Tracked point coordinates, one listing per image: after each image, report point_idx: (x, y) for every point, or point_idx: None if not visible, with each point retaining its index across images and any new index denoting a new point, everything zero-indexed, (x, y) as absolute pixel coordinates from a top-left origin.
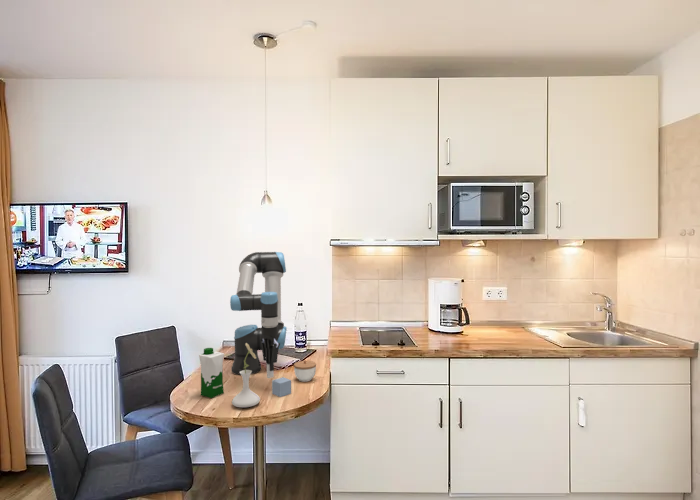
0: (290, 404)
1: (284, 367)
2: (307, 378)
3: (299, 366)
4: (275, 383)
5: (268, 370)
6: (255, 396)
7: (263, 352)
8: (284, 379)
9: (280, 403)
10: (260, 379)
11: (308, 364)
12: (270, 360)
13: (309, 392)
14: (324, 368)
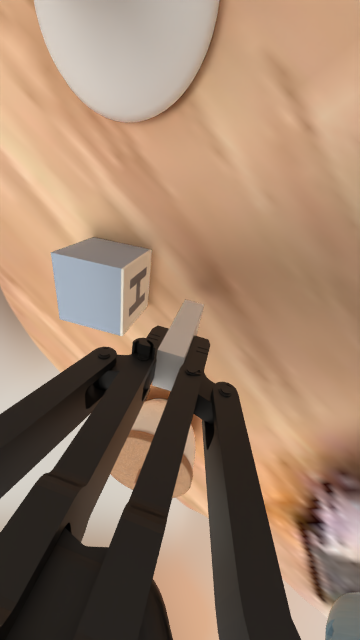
0: (3, 199)
1: (326, 490)
2: None
3: (132, 442)
4: (97, 259)
5: (172, 323)
6: (50, 32)
7: (228, 459)
8: (88, 312)
9: (34, 179)
10: (341, 365)
11: (122, 465)
12: (121, 370)
13: (61, 329)
14: (187, 494)
